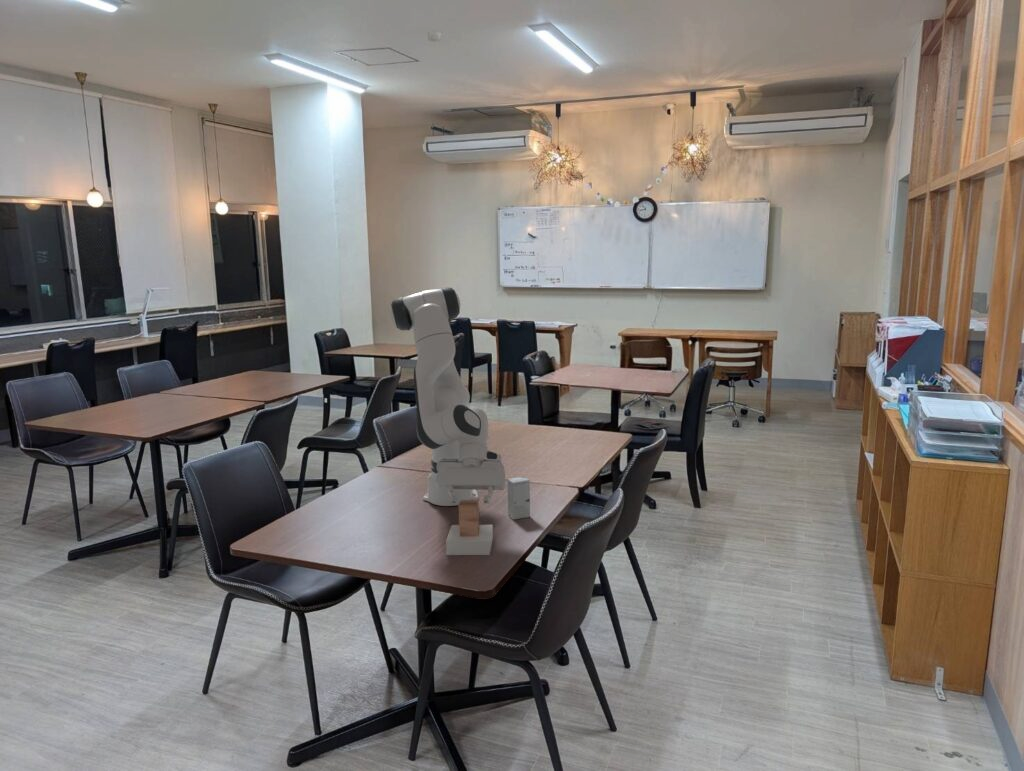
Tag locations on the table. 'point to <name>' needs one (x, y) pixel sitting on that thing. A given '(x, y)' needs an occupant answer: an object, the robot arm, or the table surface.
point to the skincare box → (518, 498)
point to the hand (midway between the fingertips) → (469, 502)
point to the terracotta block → (469, 517)
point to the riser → (469, 541)
